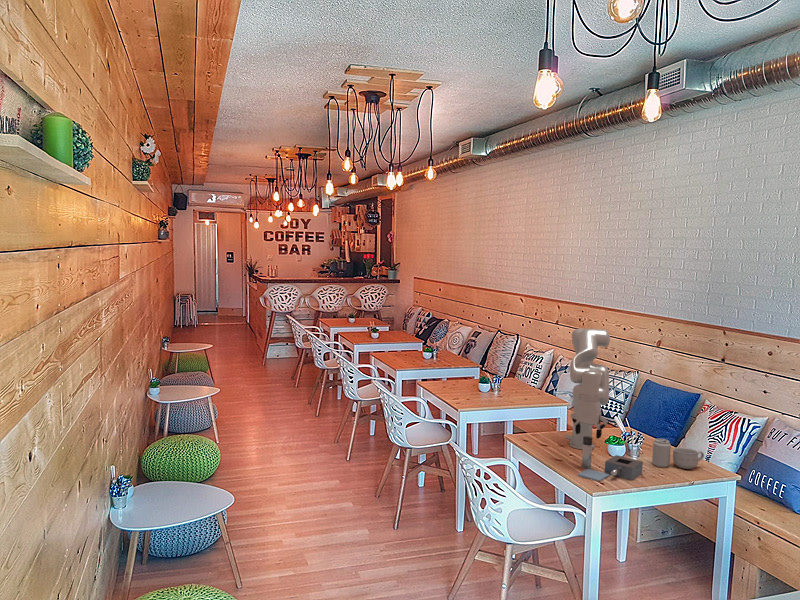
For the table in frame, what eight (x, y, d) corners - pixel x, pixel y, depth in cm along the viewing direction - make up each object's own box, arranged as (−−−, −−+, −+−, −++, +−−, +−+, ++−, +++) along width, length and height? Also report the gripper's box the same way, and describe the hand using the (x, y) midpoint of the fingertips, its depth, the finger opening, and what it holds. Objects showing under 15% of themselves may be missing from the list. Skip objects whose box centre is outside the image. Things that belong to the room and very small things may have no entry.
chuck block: (598, 476, 264) (599, 464, 263) (615, 466, 277) (616, 455, 277) (626, 484, 256) (626, 471, 255) (641, 473, 269) (642, 461, 269)
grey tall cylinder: (580, 467, 275) (581, 437, 274) (584, 465, 278) (585, 435, 277) (588, 469, 272) (590, 439, 271) (592, 467, 275) (594, 437, 274)
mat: (577, 475, 264) (577, 474, 264) (587, 470, 271) (587, 468, 271) (599, 482, 257) (599, 480, 257) (609, 476, 265) (609, 474, 265)
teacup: (676, 470, 275) (677, 452, 275) (668, 462, 286) (669, 445, 286) (708, 472, 274) (709, 455, 273) (699, 464, 284) (701, 447, 284)
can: (671, 468, 277) (672, 443, 276) (653, 467, 278) (655, 441, 278) (667, 463, 284) (668, 438, 283) (650, 462, 286) (651, 437, 285)
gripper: (568, 396, 276) (566, 433, 276) (605, 402, 264) (603, 441, 265) (575, 394, 281) (573, 430, 282) (612, 400, 270) (610, 438, 270)
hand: (588, 435), depth 273 cm, fingers open, 9 cm apart
